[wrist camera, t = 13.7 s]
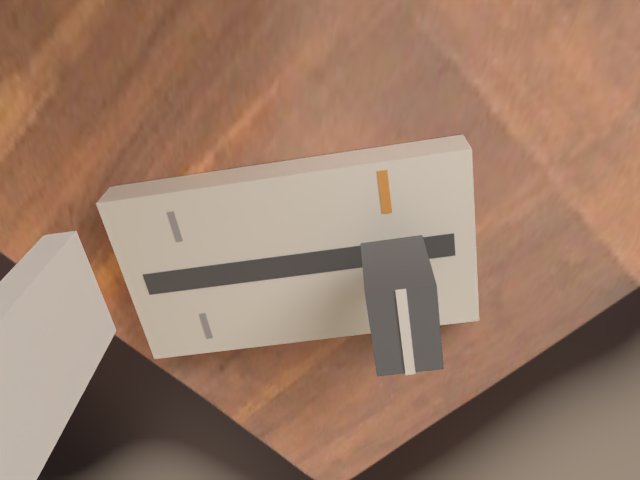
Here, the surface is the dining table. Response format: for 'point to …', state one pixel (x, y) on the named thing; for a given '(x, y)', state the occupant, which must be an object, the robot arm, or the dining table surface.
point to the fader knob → (402, 306)
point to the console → (289, 244)
